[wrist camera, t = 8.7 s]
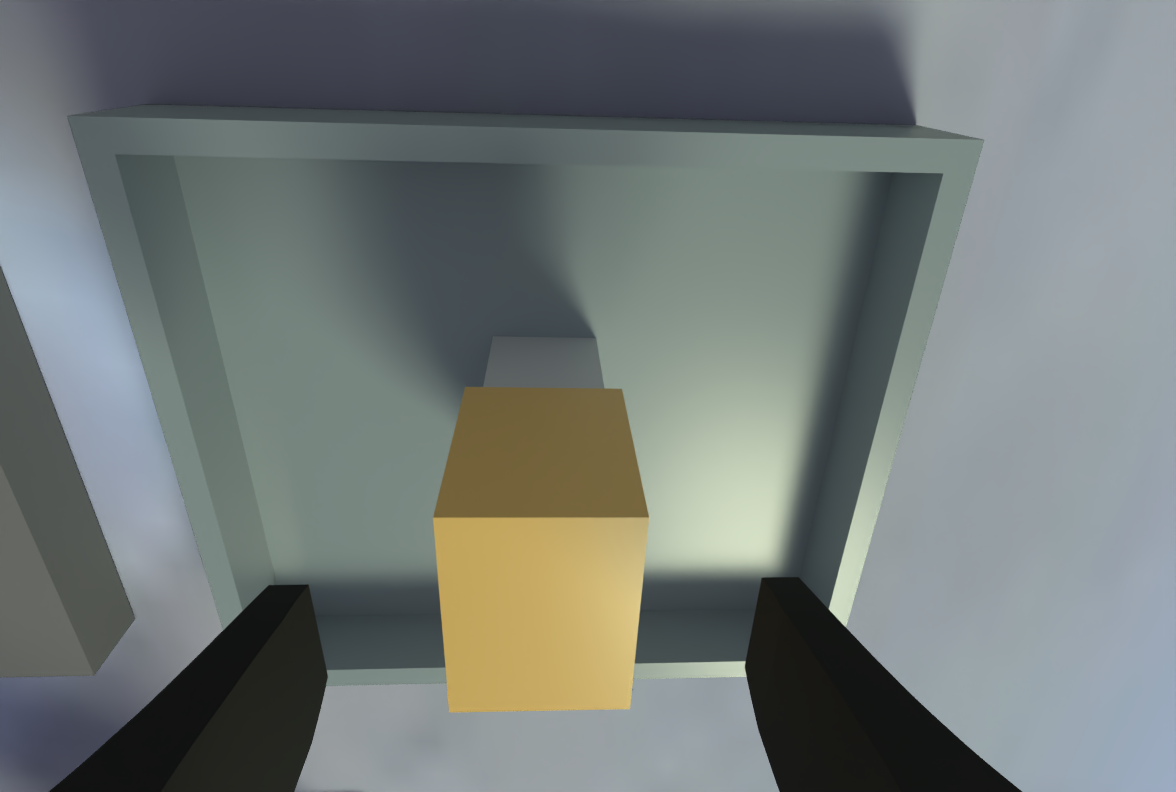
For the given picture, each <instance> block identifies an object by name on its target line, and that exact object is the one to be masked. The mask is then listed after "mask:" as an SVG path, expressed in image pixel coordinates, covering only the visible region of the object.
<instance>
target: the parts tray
mask: <svg viewBox="0 0 1176 792" xmlns="http://www.w3.org/2000/svg"><path fill="white" fill-rule="evenodd" d="M67 117H68V121H69V124H70V127H71V130H72V134H73V137H74V140H75V144H76V147H77V150H78V154H79V157H80V160H81V163H82V167H83V170H84V173H85V177H86V180H87V183H88V186H89V190H90V193H91V196H92V200H93V203H94V206H95V210H96V213H97V216H98V219H99V223H100V226H101V229H102V233H103V236H104V239H105V242H106V246H107V249H108V252H109V256H110V259H111V262H112V266H113V269H114V272H115V275H116V279H117V282H118V285H119V289H120V292H121V295H122V298H123V302H124V305H125V308H126V312H127V315H128V318H129V322H130V325H131V328H132V331H133V335H134V338H135V341H136V345H137V348H138V351H139V354H140V358H141V361H142V364H143V368H144V371H145V374H146V378H147V381H148V384H149V387H150V391H151V394H152V397H153V401H154V404H155V407H156V411H157V414H158V417H159V420H160V424H161V427H162V430H163V434H164V437H165V440H166V443H167V447H168V450H169V453H170V457H171V460H172V463H173V467H174V470H175V473H176V476H177V480H178V483H179V486H180V490H181V493H182V496H183V499H184V503H185V506H186V509H187V513H188V516H189V519H190V523H191V526H192V529H193V532H194V536H195V539H196V542H197V546H198V549H199V552H200V555H201V559H202V562H203V565H204V569H205V572H206V575H207V579H208V582H209V585H210V588H211V592H212V595H213V598H214V602H215V605H216V608H217V611H218V615H219V618H220V621H221V625H222V628H223V630H224V629H225V628H226V627H227V626H228V625H229V624H230V623H231V622H232V621H233V620H234V619H235V618H236V617H237V616H238V615H239V614H240V613H241V612H242V611H243V610H244V609H245V608H246V607H247V606H248V605H249V604H250V603H251V602H252V601H253V600H254V599H255V598H256V597H257V596H258V595H259V594H260V593H261V592H262V591H263V590H264V589H265V588H266V587H267V586H268V585H306V584H309V588H310V593H311V598H312V603H313V607H314V612H315V617H316V622H317V626H318V631H319V636H320V641H321V645H322V650H323V655H324V660H325V664H326V669H327V674H328V679H327V683H326V686H345V685H390V684H435V683H447V679H446V667H445V655H444V643H443V631H442V619H441V607H440V595H439V583H438V571H437V560H436V548H435V536H434V524H433V516H434V511H435V507H436V503H437V499H438V495H439V491H440V487H441V483H442V479H443V475H444V471H445V467H446V463H447V459H448V454H449V450H450V446H451V442H452V438H453V434H454V430H455V426H456V422H457V418H458V414H459V410H460V406H461V402H462V398H463V393H464V389H465V387H483V385H484V380H485V375H486V370H487V365H488V359H489V354H490V349H491V344H492V339H493V336H502V337H564V338H596V339H597V345H598V351H599V358H600V364H601V370H602V376H603V382H604V388H610V389H622V391H623V396H624V401H625V405H626V410H627V415H628V420H629V424H630V429H631V434H632V438H633V443H634V448H635V453H636V457H637V462H638V467H639V472H640V476H641V481H642V486H643V490H644V495H645V500H646V505H647V509H648V514H649V525H648V535H647V545H646V555H645V565H644V574H643V584H642V594H641V604H640V614H639V624H638V634H637V644H636V654H635V664H634V674H633V679H660V678H705V677H747V676H746V671H745V662H746V657H747V651H748V646H749V641H750V636H751V631H752V625H753V620H754V615H755V610H756V605H757V599H758V594H759V589H760V584H761V579H762V578H764V577H799V578H800V579H801V580H802V581H803V582H804V583H805V584H806V585H807V587H808V588H809V589H810V590H811V591H812V592H813V593H814V594H815V595H816V596H817V597H818V598H819V599H820V600H821V601H822V603H823V604H824V605H825V606H826V607H827V608H828V609H829V610H830V611H831V612H832V613H833V614H834V615H835V617H836V618H837V619H838V620H839V621H840V622H841V623H842V624H843V625H844V626H845V627H846V625H847V622H848V618H849V615H850V611H851V608H852V604H853V601H854V597H855V594H856V590H857V587H858V583H859V580H860V576H861V572H862V569H863V565H864V562H865V558H866V555H867V551H868V548H869V544H870V541H871V537H872V534H873V530H874V527H875V523H876V520H877V516H878V513H879V509H880V506H881V502H882V498H883V495H884V491H885V488H886V484H887V481H888V477H889V474H890V470H891V467H892V463H893V460H894V456H895V453H896V449H897V446H898V442H899V439H900V435H901V432H902V428H903V424H904V421H905V417H906V414H907V410H908V407H909V403H910V400H911V396H912V393H913V389H914V386H915V382H916V379H917V375H918V372H919V368H920V365H921V361H922V358H923V354H924V351H925V347H926V343H927V340H928V336H929V333H930V329H931V326H932V322H933V319H934V315H935V312H936V308H937V305H938V301H939V298H940V294H941V291H942V287H943V284H944V280H945V277H946V273H947V269H948V266H949V262H950V259H951V255H952V252H953V248H954V245H955V241H956V238H957V234H958V231H959V227H960V224H961V220H962V217H963V213H964V210H965V206H966V203H967V199H968V195H969V192H970V188H971V185H972V181H973V178H974V174H975V171H976V167H977V164H978V160H979V157H980V153H981V150H982V146H983V143H984V140H982V139H978V138H973V137H969V136H964V135H959V134H955V133H950V132H946V131H941V130H937V129H932V128H927V127H923V126H918V125H886V124H849V123H813V122H776V121H740V120H703V119H667V118H630V117H594V116H557V115H521V114H484V113H448V112H411V111H375V110H338V109H302V108H265V107H229V106H192V105H156V104H144V105H137V106H131V107H124V108H117V109H110V110H103V111H97V112H90V113H83V114H76V115H70V116H67Z"/></svg>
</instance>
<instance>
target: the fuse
mask: <svg viewBox="0 0 1176 792" xmlns="http://www.w3.org/2000/svg"><path fill="white" fill-rule="evenodd" d="M433 524H434V536H435V548H436V560H437V571H438V583H439V595H440V607H441V619H442V631H443V643H444V655H445V667H446V679H447V691H448V703H449V712H494V711H548V710H601V709H630V704H631V694H632V684H633V674H634V664H635V654H636V644H637V634H638V624H639V614H640V604H641V594H642V584H643V574H644V565H645V555H646V545H647V535H648V525H649V514H648V509H647V505H646V500H645V495H644V490H643V486H642V481H641V476H640V472H639V467H638V462H637V457H636V453H635V448H634V443H633V438H632V434H631V429H630V424H629V420H628V415H627V410H626V405H625V401H624V396H623V391H622V389H610V388H604V382H603V376H602V370H601V364H600V358H599V351H598V345H597V339H596V338H564V337H502V336H493V339H492V344H491V349H490V354H489V359H488V365H487V370H486V375H485V380H484V385H483V387H465V389H464V393H463V398H462V402H461V406H460V410H459V414H458V418H457V422H456V426H455V430H454V434H453V438H452V442H451V446H450V450H449V454H448V459H447V463H446V467H445V471H444V475H443V479H442V483H441V487H440V491H439V495H438V499H437V503H436V507H435V511H434V516H433Z"/></svg>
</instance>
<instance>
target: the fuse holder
mask: <svg viewBox="0 0 1176 792" xmlns="http://www.w3.org/2000/svg"><path fill="white" fill-rule="evenodd" d="M134 620H135V617H134V615H133V612H132V610H131V607H130V604H129V602H128V599H127V596H126V594H125V591H124V589H123V586H122V583H121V581H120V578H119V576H118V573H117V570H116V568H115V565H114V563H113V560H112V557H111V555H110V552H109V549H108V547H107V544H106V542H105V539H104V536H103V534H102V531H101V529H100V526H99V523H98V521H97V518H96V515H95V513H94V510H93V508H92V505H91V502H90V500H89V497H88V495H87V492H86V489H85V487H84V484H83V482H82V479H81V476H80V474H79V471H78V468H77V466H76V463H75V461H74V458H73V455H72V453H71V450H70V448H69V445H68V442H67V440H66V437H65V434H64V432H63V429H62V427H61V424H60V421H59V419H58V416H57V414H56V411H55V408H54V406H53V403H52V401H51V398H50V395H49V393H48V390H47V387H46V385H45V382H44V380H43V377H42V374H41V372H40V369H39V367H38V364H37V361H36V359H35V356H34V353H33V351H32V348H31V346H30V343H29V340H28V338H27V335H26V333H25V330H24V327H23V325H22V322H21V320H20V317H19V314H18V312H17V309H16V306H15V304H14V301H13V299H12V296H11V293H10V291H9V288H8V286H7V283H6V280H5V278H4V275H3V272H2V270H1V267H0V677H42V676H89V675H95V674H96V672H97V671H98V670H99V668H100V667H101V665H102V664H103V663H104V661H105V660H106V658H107V657H108V656H109V654H110V653H111V651H112V650H113V649H114V647H115V646H116V645H117V643H118V642H119V640H120V639H121V638H122V636H123V635H124V633H125V632H126V631H127V629H128V628H129V627H130V625H131V624H132V622H133V621H134Z"/></svg>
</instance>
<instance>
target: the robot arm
mask: <svg viewBox="0 0 1176 792" xmlns="http://www.w3.org/2000/svg"><path fill="white" fill-rule="evenodd" d="M745 671H746V676H747V681H748V685H749V690H750V695H751V700H752V704H753V708H754V712H755V717H756V721H757V725H758V730H759V733H760V736H761V739H762V742H763V745H764V748H765V751H766V753H767V756H768V759H769V762H770V765H771V768H772V771H773V774H774V777H775V780H776V783H777V786H778V788H779V791H780V792H1022V791H1021V790H1019V789H1018V788H1017V787H1016V786H1014V785H1013V784H1012V783H1011V782H1010V781H1008V780H1007V779H1006V778H1005V777H1003V776H1002V775H1001V774H1000V773H999V772H997V771H996V770H995V769H994V768H992V767H991V766H990V765H989V764H988V763H986V762H985V761H984V760H983V759H982V758H980V757H979V756H978V755H977V754H976V753H975V752H974V751H972V750H971V749H970V748H969V747H968V746H967V745H965V744H964V743H963V742H962V741H961V740H960V739H959V738H958V737H957V736H955V735H954V734H953V733H952V732H951V731H950V730H949V729H948V728H947V727H946V726H945V725H943V724H942V723H941V722H940V721H939V720H938V719H937V718H936V717H935V716H934V715H932V714H931V713H930V712H929V711H928V710H927V709H926V708H925V707H924V706H923V705H922V704H921V703H920V702H919V701H918V700H916V699H915V698H914V697H913V696H912V695H911V694H910V693H909V692H908V691H907V690H906V689H905V688H904V687H903V686H902V685H901V684H900V683H899V682H898V681H897V680H896V679H895V678H894V677H893V676H892V675H891V674H890V673H889V672H888V671H887V670H886V669H885V668H884V667H883V666H882V665H881V664H880V663H879V662H878V661H877V660H876V659H875V658H874V657H873V656H872V655H871V654H870V652H869V651H868V650H867V649H866V648H865V647H864V646H863V645H862V644H861V643H860V642H859V641H858V640H857V639H856V638H855V637H854V636H853V635H852V634H851V633H850V631H849V630H848V629H847V628H846V627H845V626H844V625H843V624H842V623H841V622H840V621H839V620H838V619H837V618H836V617H835V615H834V614H833V613H832V612H831V611H830V610H829V609H828V608H827V607H826V606H825V605H824V604H823V603H822V601H821V600H820V599H819V598H818V597H817V596H816V595H815V594H814V593H813V592H812V591H811V590H810V589H809V588H808V587H807V585H806V584H805V583H804V582H803V581H802V580H801V579H800V578H799V577H764V578H762V579H761V584H760V589H759V594H758V599H757V605H756V610H755V615H754V620H753V625H752V631H751V636H750V641H749V646H748V651H747V657H746V662H745ZM327 679H328V674H327V669H326V664H325V660H324V655H323V650H322V645H321V641H320V636H319V631H318V626H317V622H316V617H315V612H314V607H313V603H312V598H311V593H310V588H309V584H306V585H268V586H267V587H266V588H265V589H264V590H263V591H262V592H261V593H260V594H259V595H258V596H257V597H256V598H255V599H254V600H253V601H252V602H251V603H250V604H249V605H248V606H247V607H246V608H245V609H244V610H243V611H242V612H241V613H240V614H239V615H238V616H237V617H236V618H235V619H234V620H233V621H232V622H231V623H230V624H229V625H228V626H227V627H226V628H225V629H224V630H223V631H222V632H221V633H220V634H219V635H218V636H217V637H216V638H215V639H214V640H213V641H212V642H211V643H210V644H209V645H208V646H207V647H206V648H205V649H204V650H203V651H202V652H201V653H200V654H199V655H198V656H197V657H196V658H195V659H194V660H193V661H192V662H191V663H190V664H189V665H188V666H187V667H186V668H185V669H184V670H183V671H182V672H181V673H180V674H179V675H178V676H177V677H176V678H175V679H174V680H173V681H172V682H170V683H169V684H168V685H167V686H166V687H165V688H164V689H163V690H162V691H161V692H160V693H159V694H158V695H157V696H156V697H155V698H154V699H153V700H152V701H151V702H150V703H149V704H148V705H147V706H146V707H144V708H143V709H142V710H141V711H140V712H139V713H138V714H137V715H136V716H135V717H134V718H132V719H131V720H130V721H129V722H128V723H127V724H126V725H125V726H124V727H122V728H121V729H120V730H119V731H118V732H117V733H116V734H115V735H114V736H112V737H111V738H110V739H109V740H108V741H107V742H106V743H105V744H104V745H102V746H101V747H100V748H99V749H98V750H97V751H96V752H95V753H94V754H92V755H91V756H90V757H89V758H88V759H87V760H86V761H85V762H83V763H82V764H81V765H80V766H79V767H78V768H76V769H75V770H74V771H73V772H72V773H71V774H69V775H68V776H67V777H66V778H65V779H63V780H62V781H61V782H60V783H59V784H58V785H56V786H55V787H54V788H53V789H52V790H50V791H49V792H294V790H295V788H296V785H297V782H298V779H299V777H300V774H301V771H302V769H303V766H304V763H305V760H306V758H307V755H308V752H309V749H310V746H311V744H312V740H313V736H314V732H315V728H316V725H317V721H318V717H319V713H320V709H321V704H322V700H323V696H324V692H325V687H326V683H327Z"/></svg>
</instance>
